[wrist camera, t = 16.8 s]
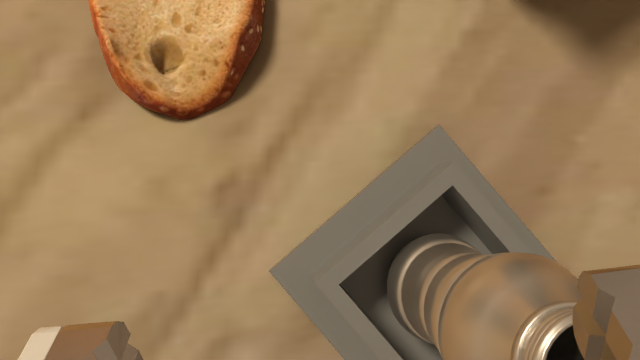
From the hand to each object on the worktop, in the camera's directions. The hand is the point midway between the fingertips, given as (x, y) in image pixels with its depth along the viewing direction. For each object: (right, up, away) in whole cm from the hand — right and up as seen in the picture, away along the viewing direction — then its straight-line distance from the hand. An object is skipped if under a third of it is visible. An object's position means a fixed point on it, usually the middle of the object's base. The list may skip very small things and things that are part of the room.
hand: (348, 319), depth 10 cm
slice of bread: (-11, +17, +28) cm, 35 cm away
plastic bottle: (+7, -4, +26) cm, 28 cm away
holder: (+7, -4, +27) cm, 28 cm away
